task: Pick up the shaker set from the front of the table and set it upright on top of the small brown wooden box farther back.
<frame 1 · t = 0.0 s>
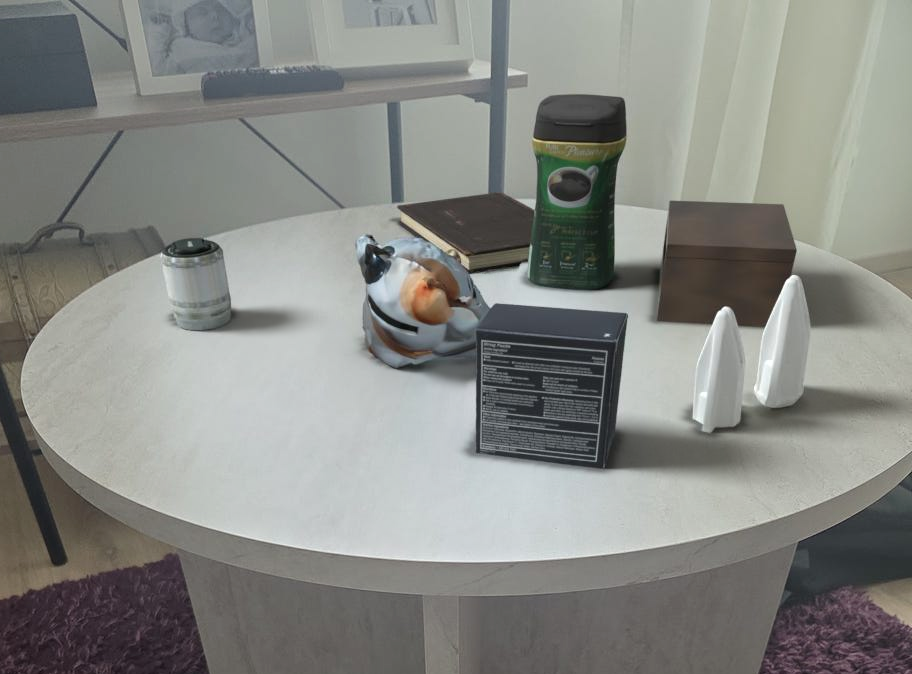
camera lens: (204, 322, 97), on the table
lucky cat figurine: (432, 356, 89), on the table
coffee jar: (569, 283, 104), on the table
shaker set: (745, 415, 78), on the table
hardcover book: (487, 240, 117), on the table
brown wooden box: (714, 301, 98), on the table
small box: (545, 450, 74), on the table
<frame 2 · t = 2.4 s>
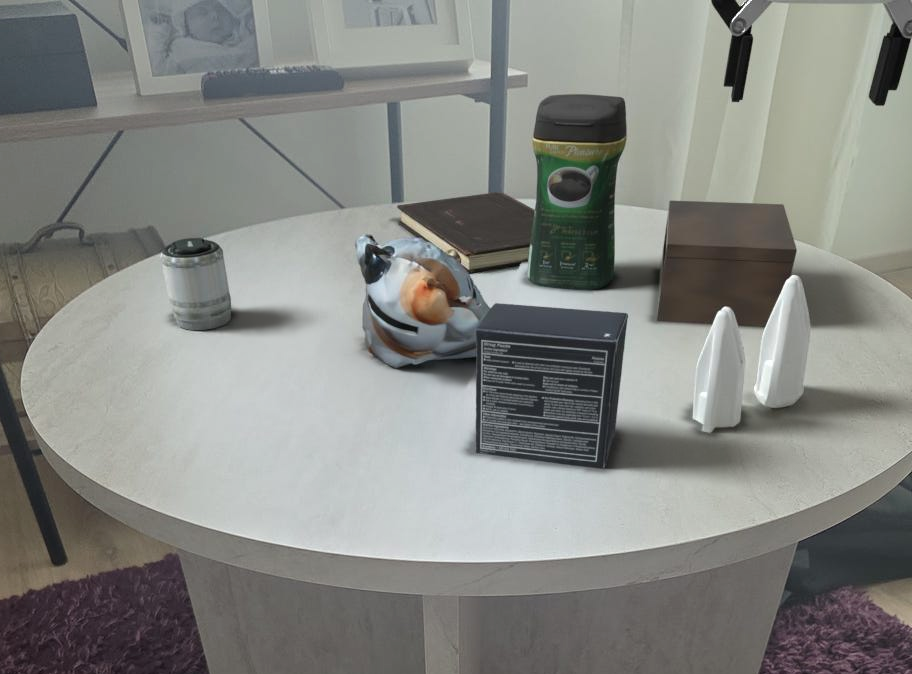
hand: (805, 100, 66), 23 cm above the table, tool pointing down, fingers open, 9 cm apart
nothing on the table moved.
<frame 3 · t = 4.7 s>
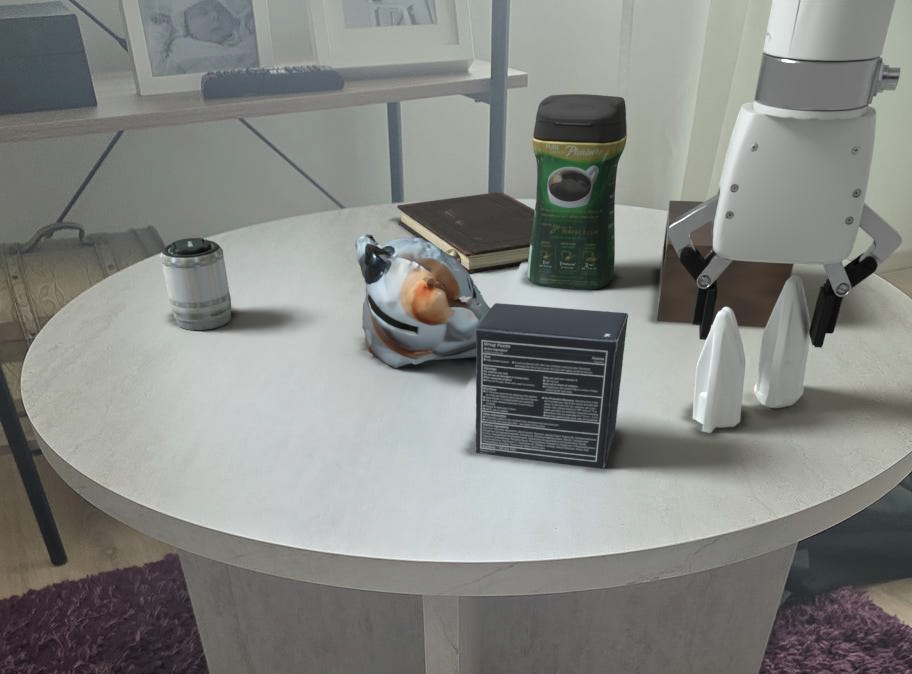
hand: (758, 336, 73), 7 cm above the table, tool pointing down, fingers closed on shaker set, 8 cm apart
shaker set: (745, 416, 78), on the table, touching gripper
everything else where it was.
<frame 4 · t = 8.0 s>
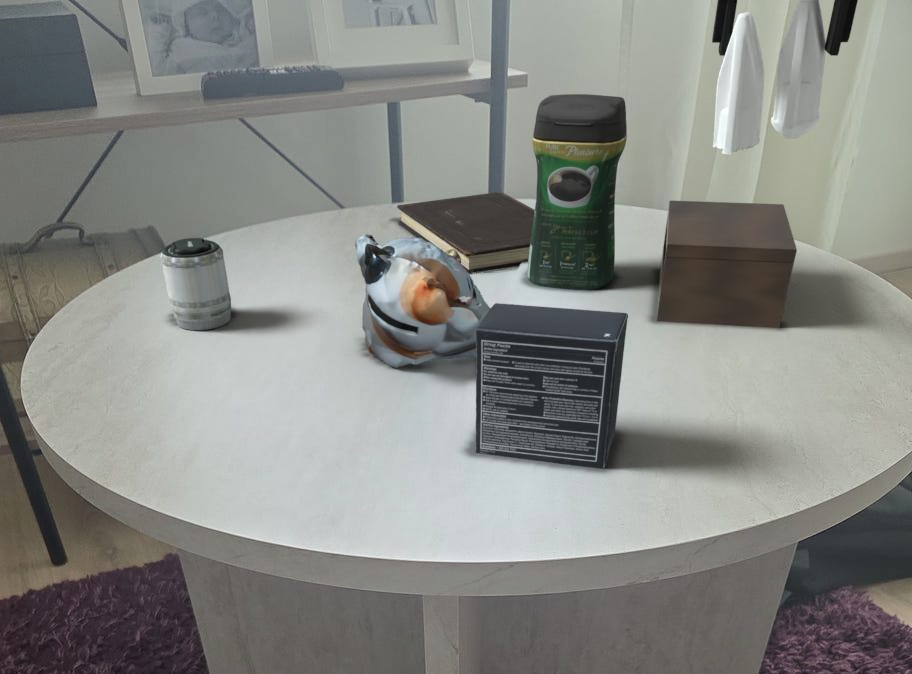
hand: (776, 52, 76), 24 cm above the table, tool pointing down, fingers closed on shaker set, 8 cm apart
shaker set: (763, 144, 80), point 17 cm above the table, touching gripper
everything else where it was.
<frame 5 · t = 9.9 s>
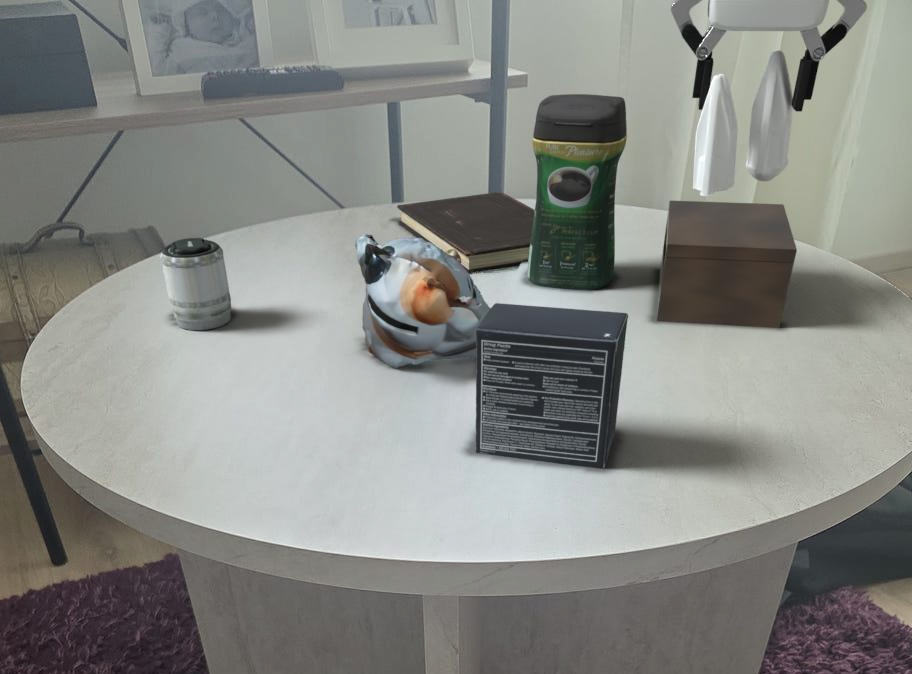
hand: (749, 107, 86), 18 cm above the table, tool pointing down, fingers closed on shaker set, 8 cm apart
shaker set: (738, 186, 91), point 11 cm above the table, touching gripper
everything else where it was.
when the fingers open (15 cm above the table, at t = 11.5 s): shaker set stays where it is, resting on brown wooden box.
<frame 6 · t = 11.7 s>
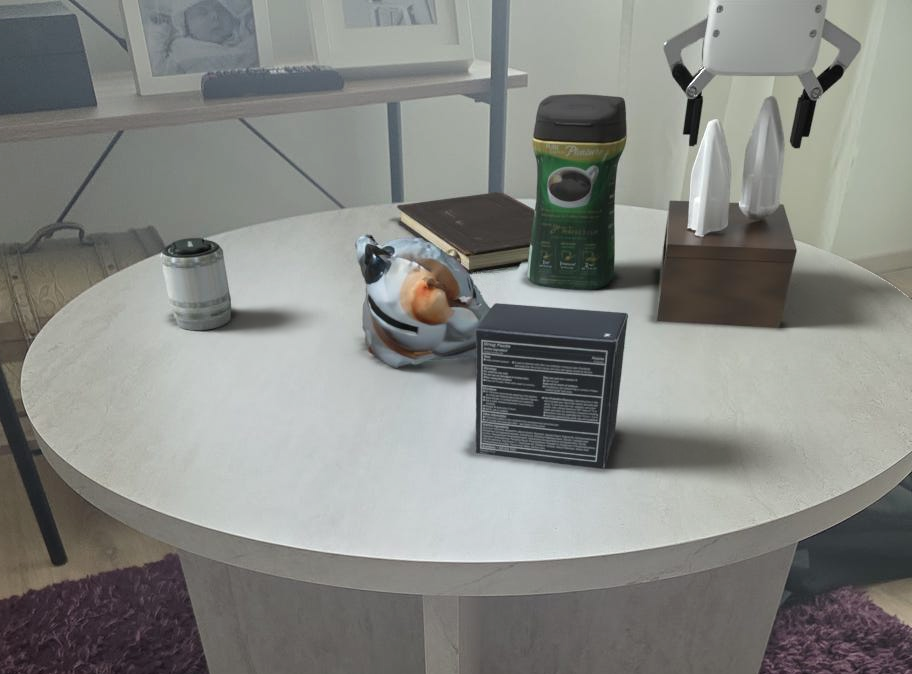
hand: (743, 144, 88), 15 cm above the table, tool pointing down, fingers open, 9 cm apart
shaker set: (731, 225, 93), point 8 cm above the table, touching brown wooden box
everything else where it was.
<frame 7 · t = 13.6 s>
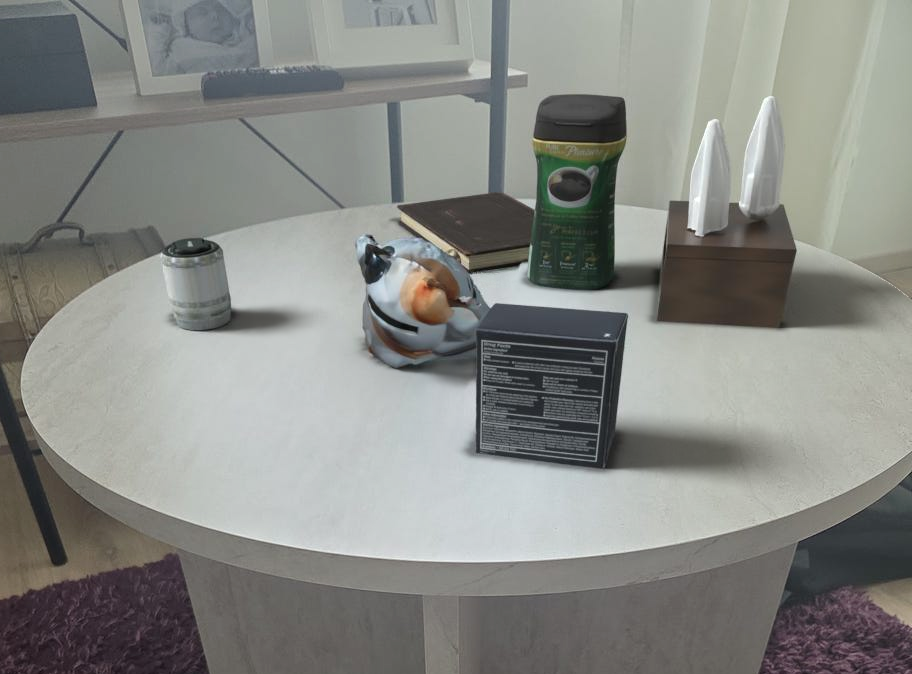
nothing on the table moved.
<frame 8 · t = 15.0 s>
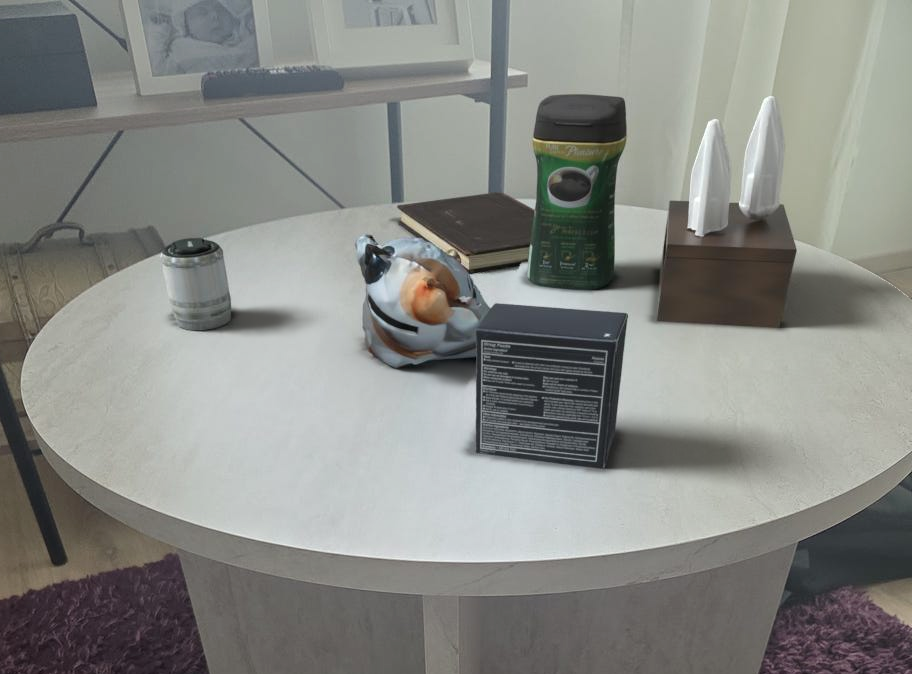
nothing on the table moved.
at the end: shaker set inside the target area on the brown wooden box (0.4 cm from its centre), point 7.8 cm above the brown wooden box's base; shaker set tilted 0° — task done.
